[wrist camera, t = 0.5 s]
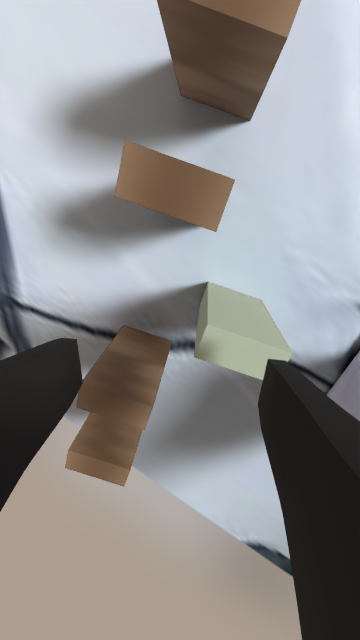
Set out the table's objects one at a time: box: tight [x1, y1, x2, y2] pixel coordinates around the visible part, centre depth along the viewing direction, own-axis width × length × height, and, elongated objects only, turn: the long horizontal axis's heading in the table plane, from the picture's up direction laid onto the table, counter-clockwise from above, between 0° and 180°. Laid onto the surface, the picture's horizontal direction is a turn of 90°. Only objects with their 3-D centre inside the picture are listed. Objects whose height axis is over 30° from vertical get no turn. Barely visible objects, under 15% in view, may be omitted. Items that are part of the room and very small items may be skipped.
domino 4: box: [115, 140, 235, 232], centre depth 12 cm, size 4×2×7 cm, turn 72°
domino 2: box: [65, 412, 143, 486], centre depth 19 cm, size 4×2×7 cm, turn 72°
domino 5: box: [194, 282, 293, 380], centre depth 15 cm, size 4×2×7 cm, turn 72°
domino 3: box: [157, 0, 301, 120], centre depth 10 cm, size 4×2×7 cm, turn 72°
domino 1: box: [76, 325, 172, 430], centre depth 17 cm, size 4×2×7 cm, turn 72°
